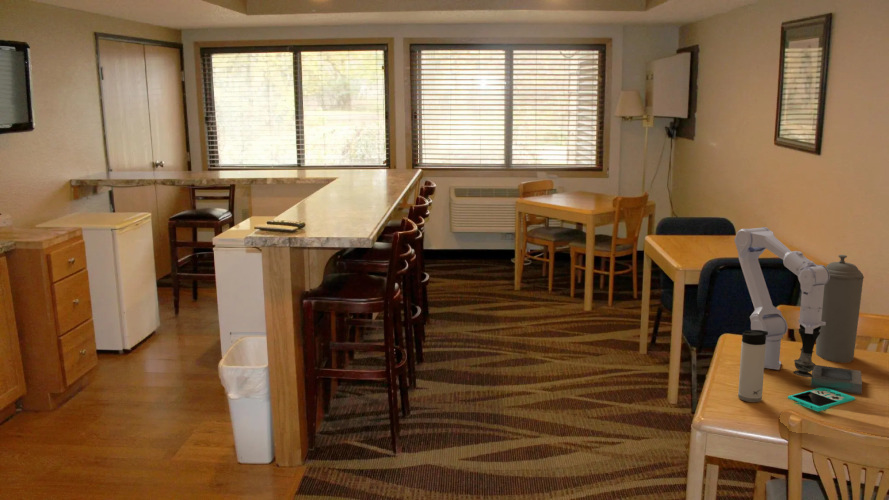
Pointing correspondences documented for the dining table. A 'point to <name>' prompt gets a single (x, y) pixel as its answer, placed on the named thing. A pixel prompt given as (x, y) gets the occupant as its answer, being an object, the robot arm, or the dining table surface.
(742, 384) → the travel mug
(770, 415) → the dining table surface
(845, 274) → the canister
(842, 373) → the square socket
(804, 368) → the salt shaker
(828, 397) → the handheld game console
